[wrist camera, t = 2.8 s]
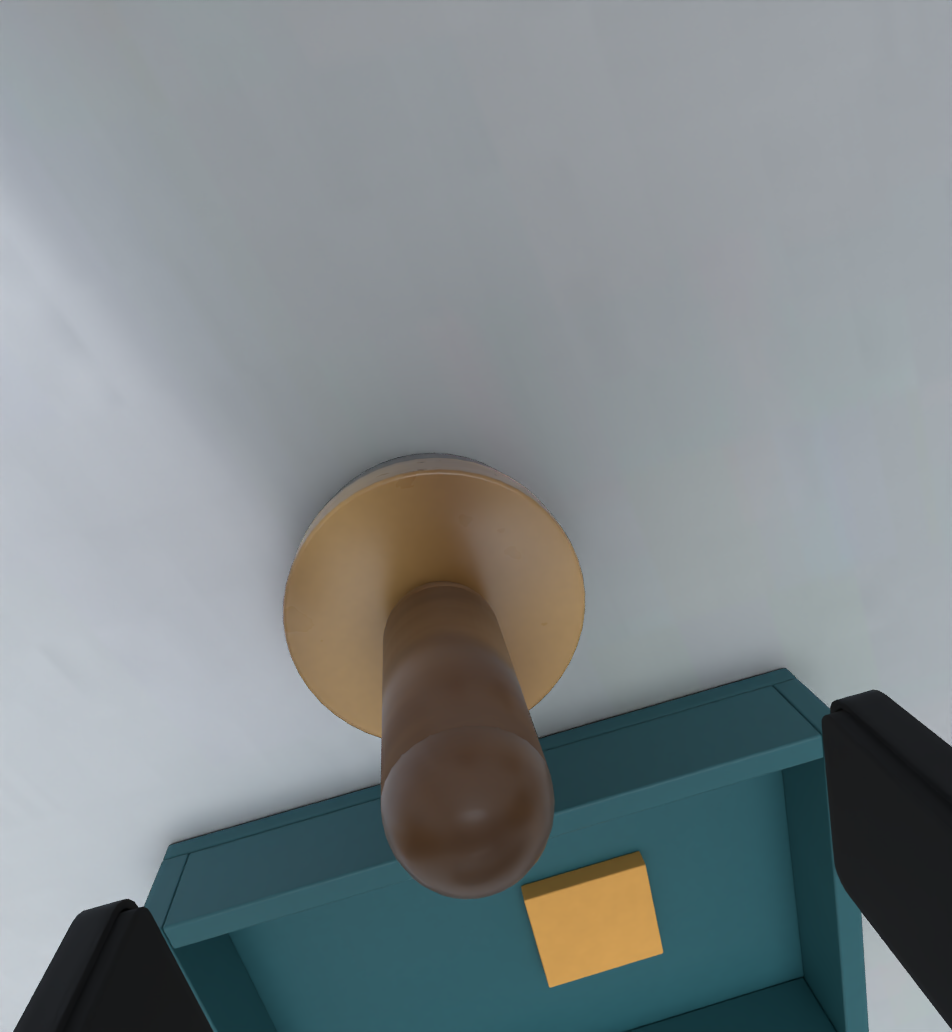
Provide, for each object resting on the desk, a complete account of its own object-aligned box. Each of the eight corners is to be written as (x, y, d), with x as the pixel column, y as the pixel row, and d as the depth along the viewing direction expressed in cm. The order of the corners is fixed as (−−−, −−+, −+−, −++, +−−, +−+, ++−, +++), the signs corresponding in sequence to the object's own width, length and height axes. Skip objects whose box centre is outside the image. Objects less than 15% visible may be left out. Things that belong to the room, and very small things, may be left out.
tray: (311, 1124, 24) (300, 1237, 21) (168, 844, 20) (130, 938, 17) (815, 968, 25) (871, 1056, 22) (785, 666, 21) (850, 726, 18)
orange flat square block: (545, 971, 23) (549, 988, 22) (520, 885, 21) (524, 901, 21) (657, 937, 23) (663, 953, 22) (639, 850, 21) (645, 864, 21)
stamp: (343, 716, 19) (300, 1120, 10) (259, 486, 17) (94, 721, 7) (580, 649, 20) (762, 978, 10) (529, 414, 17) (704, 552, 8)
